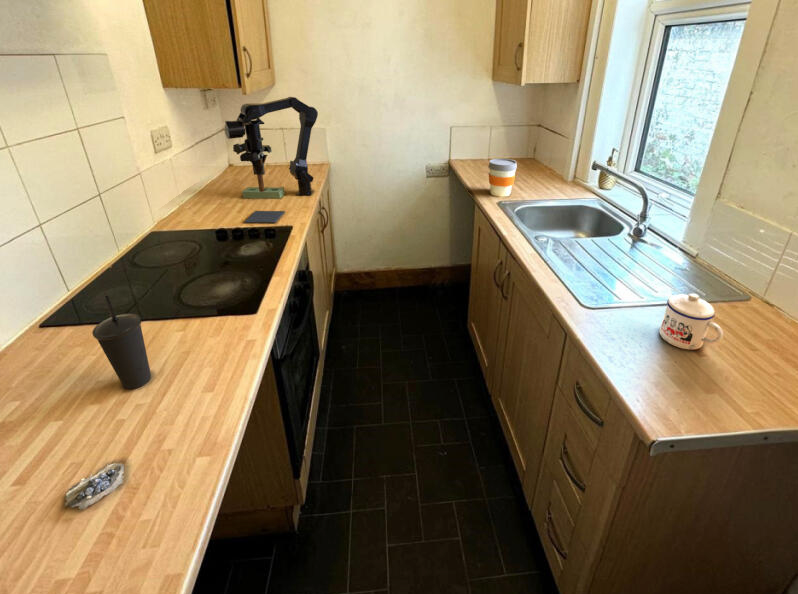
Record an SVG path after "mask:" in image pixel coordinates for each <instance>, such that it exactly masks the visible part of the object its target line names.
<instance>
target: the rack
mask: <svg viewBox="0 0 798 594" xmlns="http://www.w3.org/2000/svg"><path fill="white" fill-rule="evenodd" d="M264 188H265V191H264V192H260V191H259V186H257V187H256V186H255V187H253V186H248V187H246V188H245V189H243V190H242V191H241V195H242V199H281V198H282V197H284V195H286V191H285V187H268V186H267V187H265V186H264Z"/></svg>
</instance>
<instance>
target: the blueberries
mask: <svg viewBox="0 0 798 594" xmlns="http://www.w3.org/2000/svg"><path fill="white" fill-rule="evenodd" d="M124 470H125V464H124V463H121V462H119V463H117V462H114V463H112V464H107V465H106V467H104V468H102V469H99V470H98V472H97V473H96V474H95V475H93V473H91V474H90V476H88V477H87V478H84V477H83V478H81V480H80V481H79V482H77V483H76V484H75V485H72V486H71V487H70V488H68V491H66V493H65V502H64V505H63V506H64V507H68V506H70V508H75V507H78V509H79V510H80V511H82V510H87V508H88V507H89V506H92V505H94V504H95V503H97V502H99V501H100V500H101V499H103V497H105V496H108V494H109V493H112V492H114V491H115V490H116V489H117V488H118V487H119V486H120V485H122V484H123V479H124V478H125V476H124V475H123V474H124V473H125V472H124Z"/></svg>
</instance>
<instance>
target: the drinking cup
mask: <svg viewBox="0 0 798 594" xmlns="http://www.w3.org/2000/svg"><path fill="white" fill-rule="evenodd" d="M103 298H104V300H105V304H106V306H107V308H108V311H109V315H110V317H108V318H106V319H104V320H102V321H101V322H99V323H98V324H97V325H95V326H94V327H93V329H92V332H91V334H92V336H93V338H94V339H96V340H97V342H98V344H99V346H100V347H101V349H102V351H103V353H104V354H105V356H106V359H107V360H108V362H109V363H110V365H111V367H112V369H113V371H114V372H115V374H116V377H117V378H118V380H119V381H120V383H121V385H122V387H123V388H124V389H125V390H136V389H139V388H141V387H144V386H145V385H146V384H148V383H149V382H150V381H151V379H152V373H151V369H150V364H149V359H148V353H147V348H146V345H145V339H144V334H143V329H142V325H141V324H142V318H141V316H140V315H138V314H135V313H123V314H118V315H116V312H115V309H114V305H113V304H112V301H111V298H110V295H104V297H103Z"/></svg>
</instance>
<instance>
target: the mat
mask: <svg viewBox="0 0 798 594" xmlns="http://www.w3.org/2000/svg"><path fill="white" fill-rule="evenodd" d="M284 214H285V210H254V212H252V213H251V215H249V217H247V218H246V219H245V220H243V224H276V223H277V222H278V220H280V218H282V216H283V215H284Z"/></svg>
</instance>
